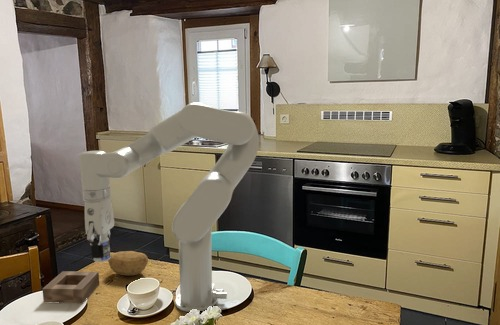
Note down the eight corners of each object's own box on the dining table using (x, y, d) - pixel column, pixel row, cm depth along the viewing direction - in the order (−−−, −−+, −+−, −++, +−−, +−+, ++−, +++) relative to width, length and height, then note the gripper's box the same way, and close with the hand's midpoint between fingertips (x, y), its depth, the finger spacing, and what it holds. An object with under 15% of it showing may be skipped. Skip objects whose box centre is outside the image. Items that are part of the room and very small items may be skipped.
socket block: (99, 284, 131) (98, 271, 130) (82, 303, 119) (81, 289, 118) (63, 284, 131) (62, 271, 131) (43, 302, 120) (42, 288, 119)
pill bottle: (105, 263, 115) (102, 235, 113) (90, 262, 116) (87, 234, 114) (113, 256, 119) (111, 229, 118) (99, 255, 120) (97, 229, 119)
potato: (118, 266, 145) (117, 245, 143) (153, 270, 142) (152, 249, 140) (102, 278, 135) (100, 256, 134) (139, 282, 132) (138, 260, 131)
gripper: (97, 201, 106) (102, 265, 109) (120, 187, 122) (124, 243, 125) (69, 201, 106) (75, 266, 109) (96, 187, 123) (101, 243, 126)
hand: (101, 253), depth 117 cm, fingers closed on pill bottle, 4 cm apart
